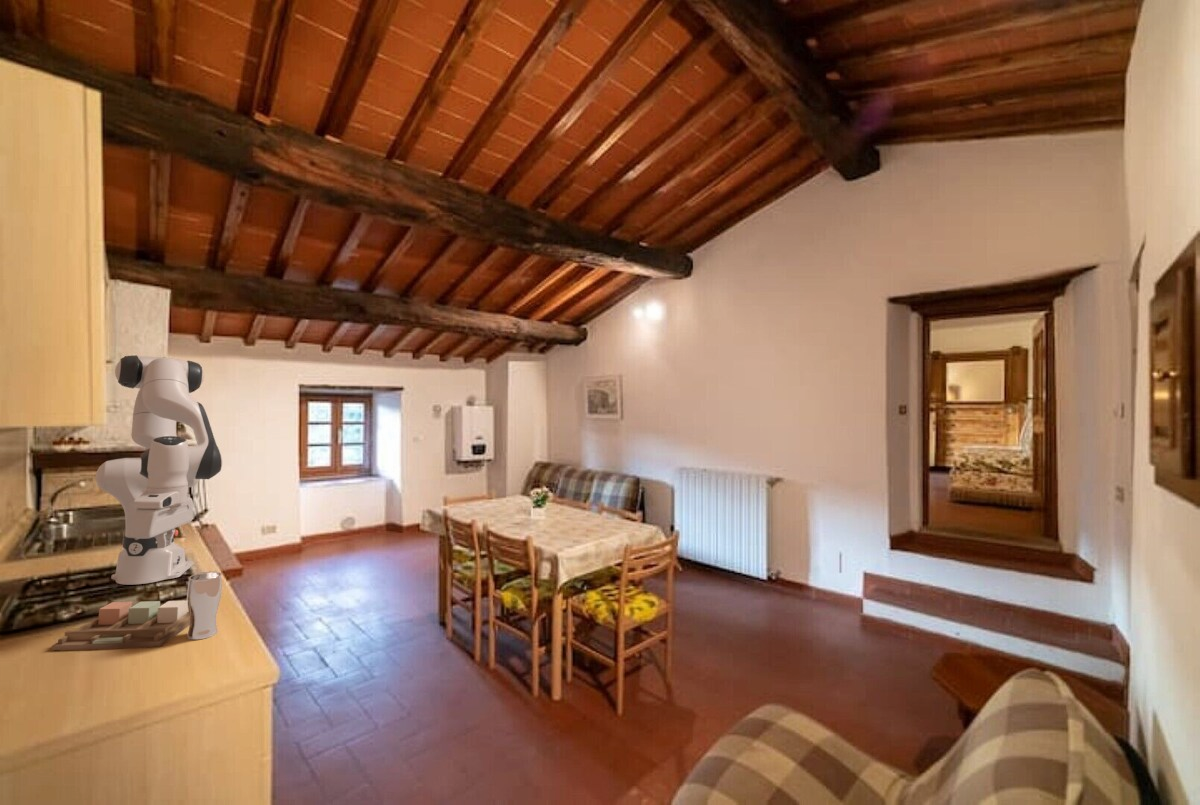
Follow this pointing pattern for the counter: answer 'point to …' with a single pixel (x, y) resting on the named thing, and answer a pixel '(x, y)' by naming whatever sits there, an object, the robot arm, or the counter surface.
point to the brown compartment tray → (121, 635)
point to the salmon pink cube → (113, 612)
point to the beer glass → (203, 604)
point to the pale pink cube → (171, 611)
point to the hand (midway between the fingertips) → (164, 546)
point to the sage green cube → (143, 612)
